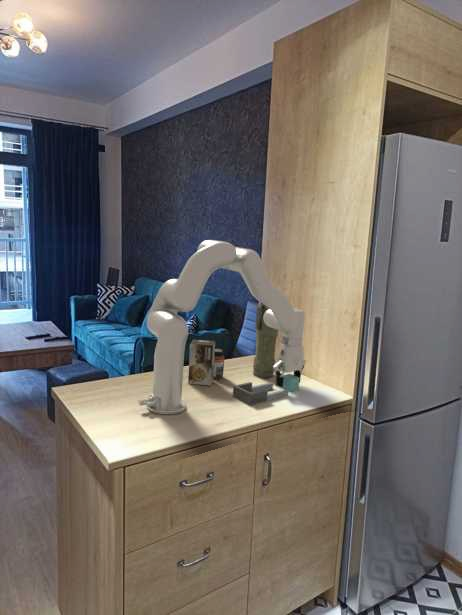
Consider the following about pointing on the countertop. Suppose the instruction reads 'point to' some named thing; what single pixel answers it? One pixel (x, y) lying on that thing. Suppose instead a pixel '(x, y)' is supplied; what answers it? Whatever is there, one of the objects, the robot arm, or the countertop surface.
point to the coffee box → (201, 362)
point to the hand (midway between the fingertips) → (287, 383)
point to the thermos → (264, 346)
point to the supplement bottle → (218, 364)
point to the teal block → (290, 382)
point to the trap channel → (256, 393)
